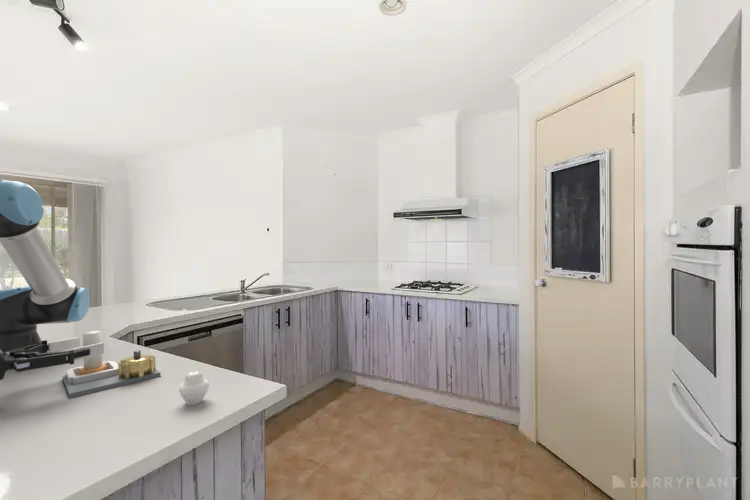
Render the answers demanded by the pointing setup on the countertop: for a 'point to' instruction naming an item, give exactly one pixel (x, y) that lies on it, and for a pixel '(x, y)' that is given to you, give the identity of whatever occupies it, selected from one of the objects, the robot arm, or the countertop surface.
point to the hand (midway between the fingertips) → (90, 344)
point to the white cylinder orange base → (92, 362)
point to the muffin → (194, 388)
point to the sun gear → (136, 365)
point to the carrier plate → (98, 379)
